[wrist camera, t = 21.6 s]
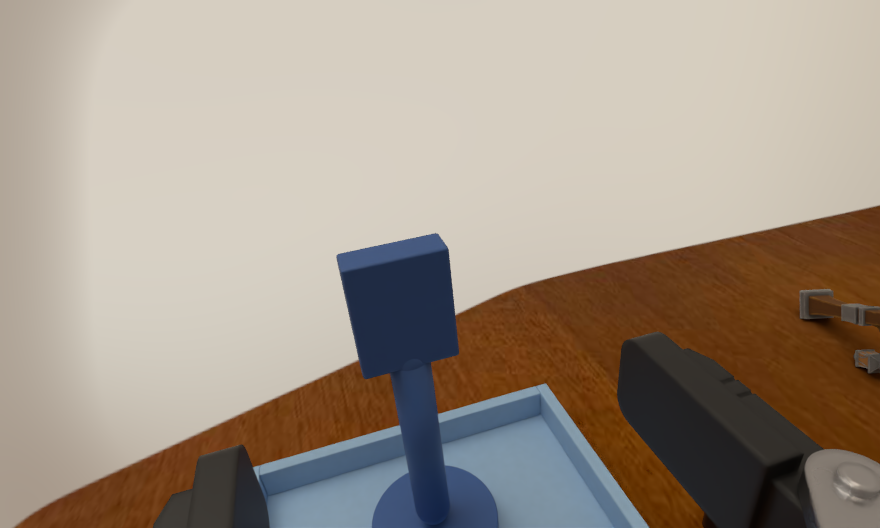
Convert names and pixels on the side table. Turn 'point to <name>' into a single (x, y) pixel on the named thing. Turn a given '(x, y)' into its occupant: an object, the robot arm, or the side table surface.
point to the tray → (466, 447)
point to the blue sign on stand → (413, 376)
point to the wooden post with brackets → (843, 319)
